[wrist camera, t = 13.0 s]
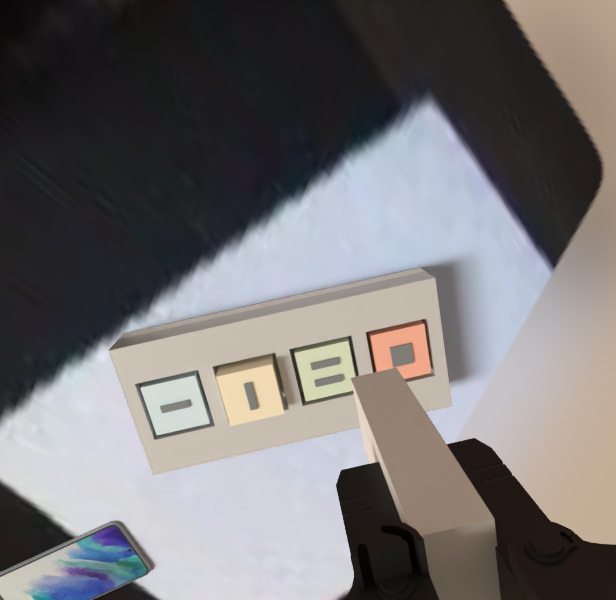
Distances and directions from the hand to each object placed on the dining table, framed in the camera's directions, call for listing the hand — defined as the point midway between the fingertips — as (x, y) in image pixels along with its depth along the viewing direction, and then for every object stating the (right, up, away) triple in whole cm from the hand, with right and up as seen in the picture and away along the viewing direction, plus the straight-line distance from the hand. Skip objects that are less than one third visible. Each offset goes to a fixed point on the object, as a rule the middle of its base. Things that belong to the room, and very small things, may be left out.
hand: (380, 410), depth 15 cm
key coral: (+5, 0, +26) cm, 27 cm away
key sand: (-7, -4, +25) cm, 26 cm away
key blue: (-14, -5, +26) cm, 30 cm away
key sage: (-1, -2, +26) cm, 26 cm away
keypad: (-4, -2, +28) cm, 28 cm away
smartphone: (-27, -24, +33) cm, 49 cm away
